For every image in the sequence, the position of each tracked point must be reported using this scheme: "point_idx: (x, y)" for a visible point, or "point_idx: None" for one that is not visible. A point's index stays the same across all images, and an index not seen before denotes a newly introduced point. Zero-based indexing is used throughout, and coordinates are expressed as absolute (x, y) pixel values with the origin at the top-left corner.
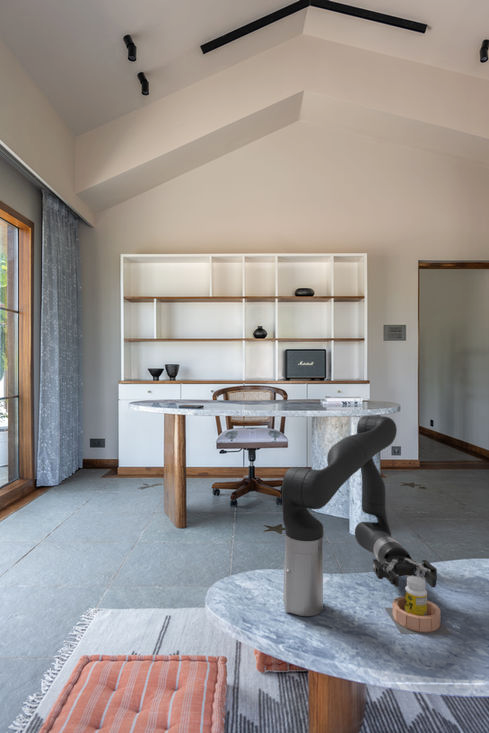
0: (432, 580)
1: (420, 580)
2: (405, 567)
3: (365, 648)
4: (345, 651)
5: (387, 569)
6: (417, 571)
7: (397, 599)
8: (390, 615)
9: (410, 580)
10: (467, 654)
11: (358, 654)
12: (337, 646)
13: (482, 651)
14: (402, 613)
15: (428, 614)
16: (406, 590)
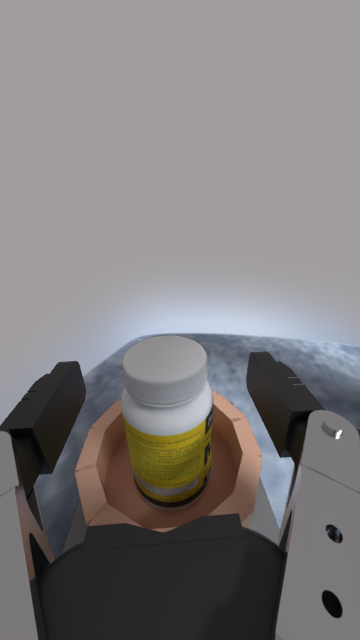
0: (78, 365)
1: (145, 353)
2: (161, 535)
3: (301, 366)
4: (332, 358)
5: (340, 420)
6: (37, 541)
7: (239, 502)
8: (263, 498)
9: (193, 349)
10: (119, 367)
11: (307, 355)
12: (354, 366)
13: (84, 375)
14: (227, 402)
15: (111, 495)
16: (210, 387)
